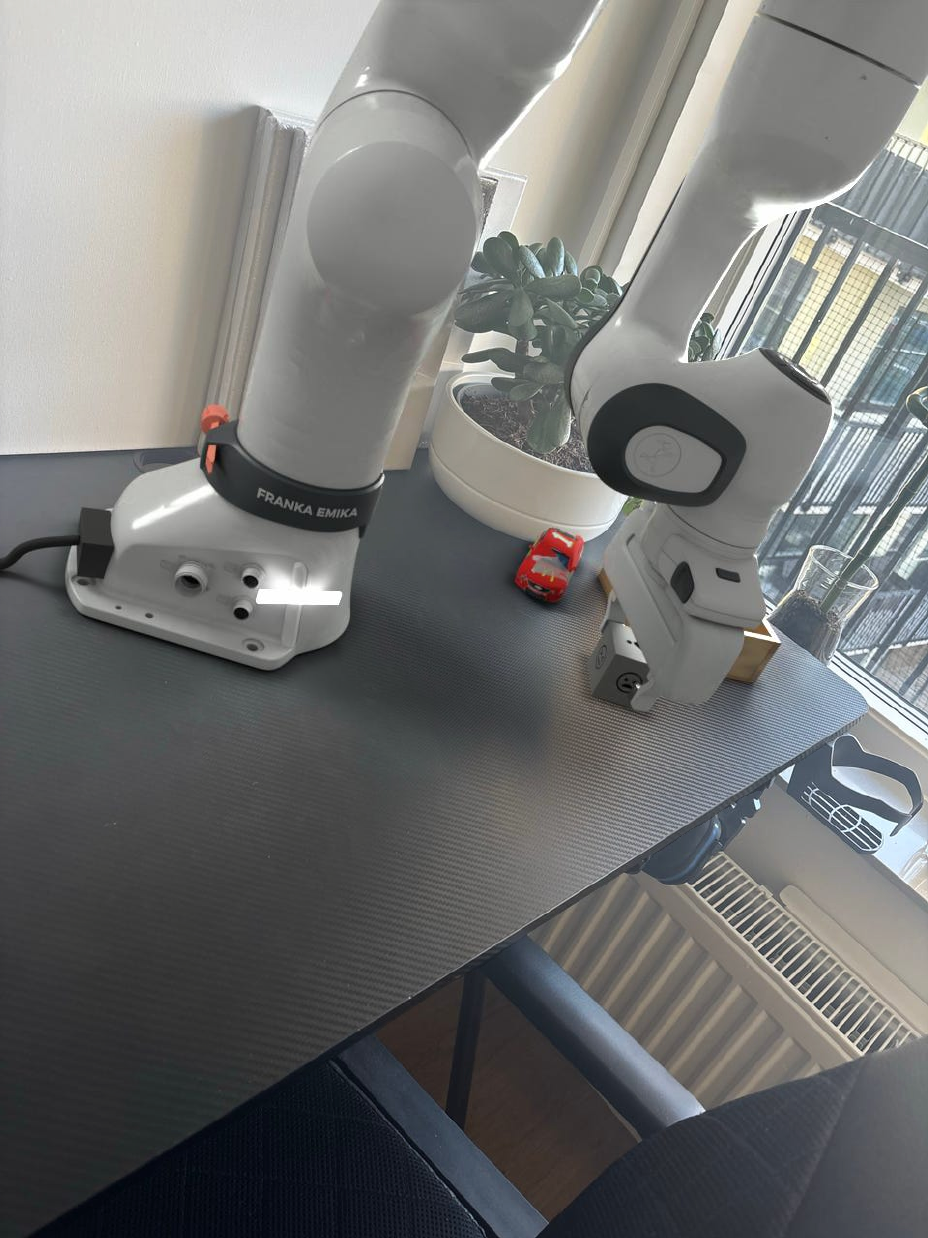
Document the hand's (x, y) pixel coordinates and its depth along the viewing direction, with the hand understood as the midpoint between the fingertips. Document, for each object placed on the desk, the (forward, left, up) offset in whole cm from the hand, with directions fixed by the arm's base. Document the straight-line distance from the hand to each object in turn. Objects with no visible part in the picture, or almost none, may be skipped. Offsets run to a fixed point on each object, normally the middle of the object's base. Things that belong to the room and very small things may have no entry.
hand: (621, 669), depth 86 cm
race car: (-3, +17, -2) cm, 17 cm away
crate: (+11, +12, -2) cm, 16 cm away
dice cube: (0, 0, -2) cm, 2 cm away
